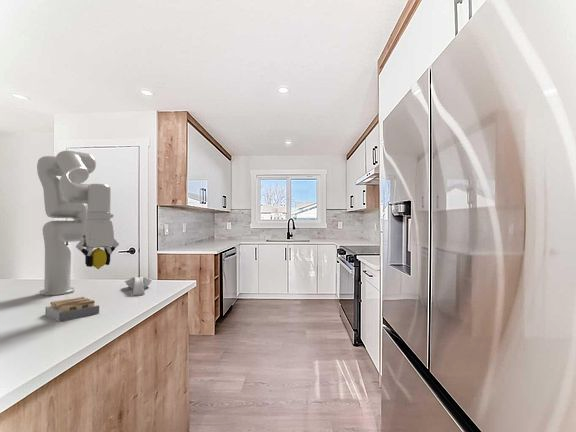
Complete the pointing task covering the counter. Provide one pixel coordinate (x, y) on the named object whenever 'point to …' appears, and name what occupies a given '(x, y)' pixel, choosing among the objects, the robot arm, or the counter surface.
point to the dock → (71, 312)
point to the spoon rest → (138, 284)
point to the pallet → (72, 304)
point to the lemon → (98, 258)
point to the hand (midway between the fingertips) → (98, 265)
